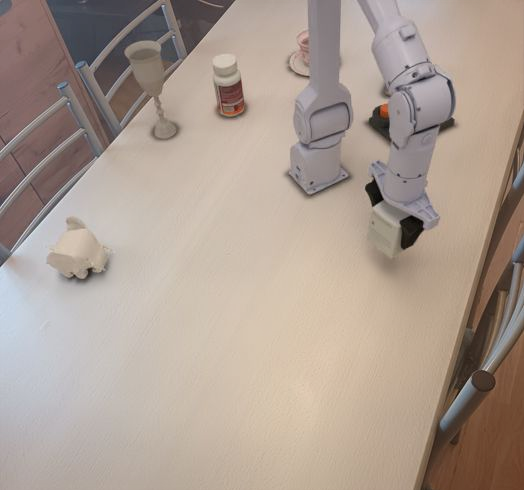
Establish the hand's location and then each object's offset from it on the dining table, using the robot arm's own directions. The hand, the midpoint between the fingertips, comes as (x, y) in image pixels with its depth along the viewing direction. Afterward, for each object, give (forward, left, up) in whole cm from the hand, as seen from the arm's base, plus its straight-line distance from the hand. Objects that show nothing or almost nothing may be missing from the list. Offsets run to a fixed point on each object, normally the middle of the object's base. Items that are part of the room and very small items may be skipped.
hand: (393, 232), depth 82 cm
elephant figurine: (-47, +30, -8) cm, 56 cm away
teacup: (+23, +60, -8) cm, 65 cm away
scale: (+27, +28, -8) cm, 40 cm away
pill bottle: (-2, +56, -8) cm, 57 cm away
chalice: (-18, +58, -8) cm, 62 cm away
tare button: (+23, +31, -6) cm, 39 cm away
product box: (0, 0, -2) cm, 2 cm away
